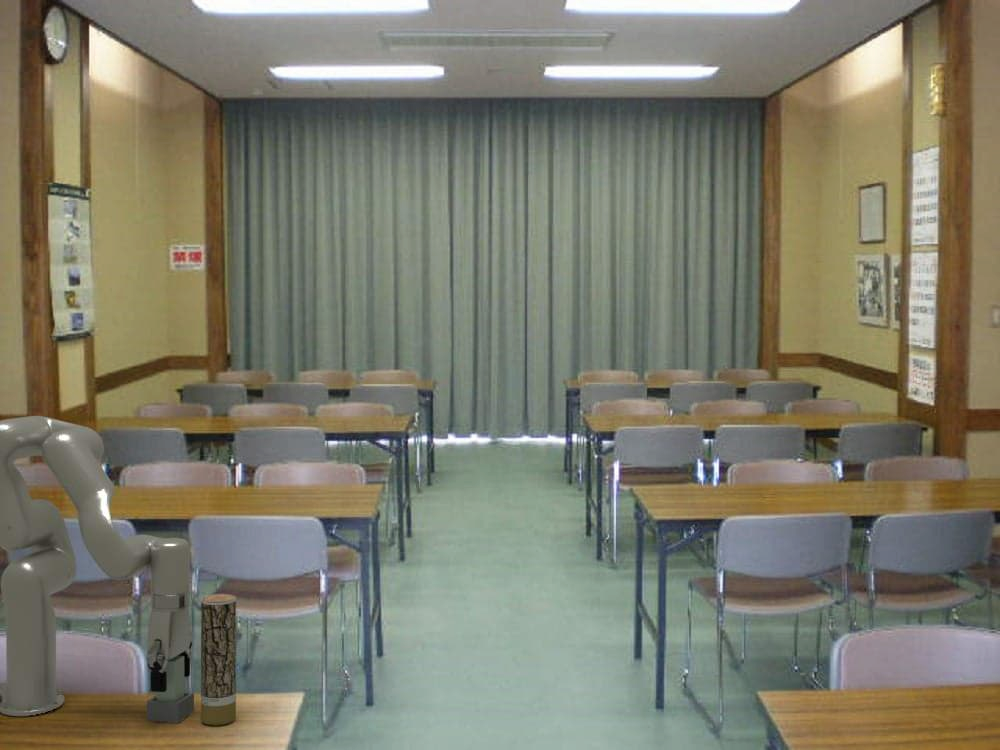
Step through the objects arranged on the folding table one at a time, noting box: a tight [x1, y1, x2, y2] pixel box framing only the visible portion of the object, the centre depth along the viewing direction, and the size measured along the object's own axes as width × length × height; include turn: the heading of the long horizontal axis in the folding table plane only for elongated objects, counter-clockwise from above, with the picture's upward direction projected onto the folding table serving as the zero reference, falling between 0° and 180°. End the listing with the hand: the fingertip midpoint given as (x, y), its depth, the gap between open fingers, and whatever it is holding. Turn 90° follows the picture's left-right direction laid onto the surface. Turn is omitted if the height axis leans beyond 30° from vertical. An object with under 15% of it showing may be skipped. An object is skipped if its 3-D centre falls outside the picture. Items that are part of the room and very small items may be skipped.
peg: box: [155, 656, 185, 703], centre depth 225 cm, size 4×4×12 cm
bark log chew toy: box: [200, 593, 237, 727], centre depth 222 cm, size 7×7×25 cm
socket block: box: [146, 691, 195, 725], centre depth 225 cm, size 7×7×4 cm
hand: (170, 683), depth 225 cm, fingers open, 9 cm apart
